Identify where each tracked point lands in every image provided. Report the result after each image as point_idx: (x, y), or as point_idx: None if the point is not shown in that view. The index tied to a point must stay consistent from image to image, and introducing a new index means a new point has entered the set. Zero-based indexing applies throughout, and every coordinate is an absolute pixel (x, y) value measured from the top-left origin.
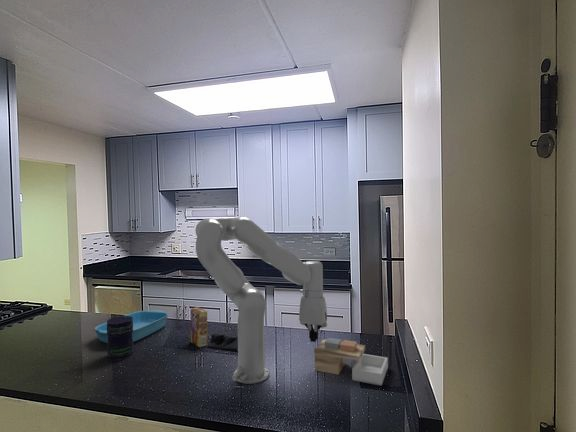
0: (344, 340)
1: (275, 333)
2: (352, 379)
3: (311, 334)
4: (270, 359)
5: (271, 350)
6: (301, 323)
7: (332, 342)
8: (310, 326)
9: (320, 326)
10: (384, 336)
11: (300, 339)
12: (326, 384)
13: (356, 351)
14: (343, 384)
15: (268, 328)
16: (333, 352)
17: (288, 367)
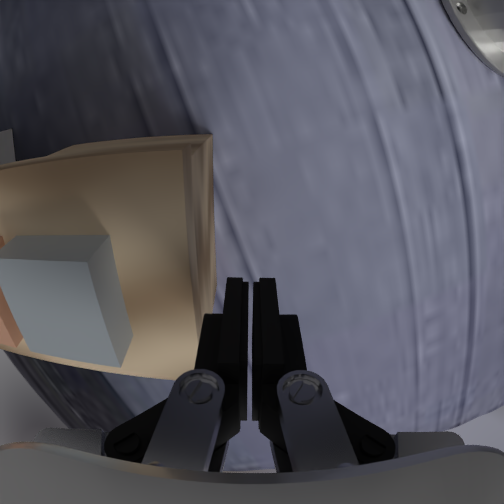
0: (7, 339)
1: (464, 399)
2: (9, 129)
3: (261, 332)
4: (487, 188)
5: (488, 280)
6: (444, 440)
7: (31, 279)
8: (287, 436)
9: (107, 443)
10: None
11: (378, 406)
12: (96, 15)
13: None
14: (29, 67)
15: (479, 410)
16: (12, 167)
17: (385, 115)
